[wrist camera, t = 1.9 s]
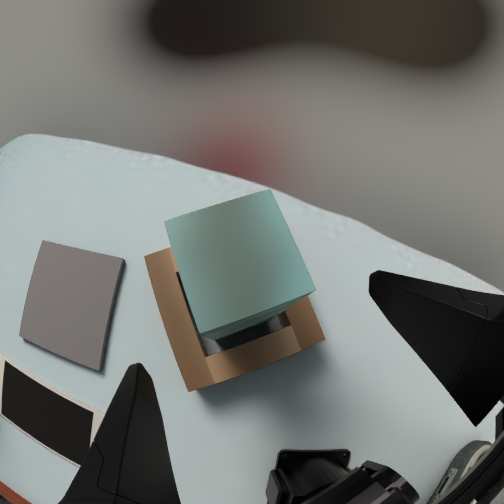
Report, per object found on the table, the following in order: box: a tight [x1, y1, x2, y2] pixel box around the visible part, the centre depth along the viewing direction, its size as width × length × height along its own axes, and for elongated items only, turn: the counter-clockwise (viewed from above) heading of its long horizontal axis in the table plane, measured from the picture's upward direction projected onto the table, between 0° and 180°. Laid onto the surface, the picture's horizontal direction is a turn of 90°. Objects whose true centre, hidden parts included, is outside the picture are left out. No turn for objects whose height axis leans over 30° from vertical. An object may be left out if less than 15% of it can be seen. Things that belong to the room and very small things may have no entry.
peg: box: [164, 189, 316, 340], centre depth 16 cm, size 4×4×13 cm
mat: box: [19, 240, 125, 371], centre depth 21 cm, size 10×10×1 cm
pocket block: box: [144, 247, 325, 392], centre depth 21 cm, size 10×10×3 cm
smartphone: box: [0, 354, 106, 467], centre depth 17 cm, size 7×16×1 cm, turn 78°
